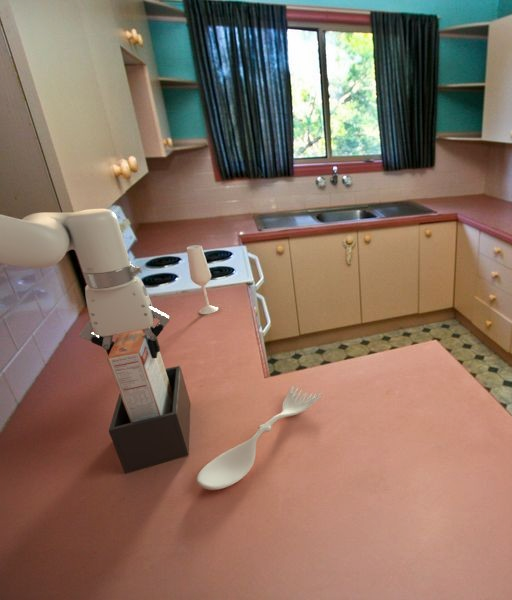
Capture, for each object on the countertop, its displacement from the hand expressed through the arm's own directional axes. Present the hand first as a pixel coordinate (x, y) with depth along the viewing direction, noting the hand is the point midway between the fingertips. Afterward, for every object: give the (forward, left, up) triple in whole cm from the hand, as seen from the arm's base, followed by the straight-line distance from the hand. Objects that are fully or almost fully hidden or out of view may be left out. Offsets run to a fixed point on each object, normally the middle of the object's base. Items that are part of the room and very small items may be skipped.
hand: (136, 358), depth 87 cm
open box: (0, 0, -20) cm, 20 cm away
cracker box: (0, 0, -16) cm, 16 cm away
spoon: (+21, -12, -20) cm, 31 cm away
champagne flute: (+11, +68, -20) cm, 72 cm away
